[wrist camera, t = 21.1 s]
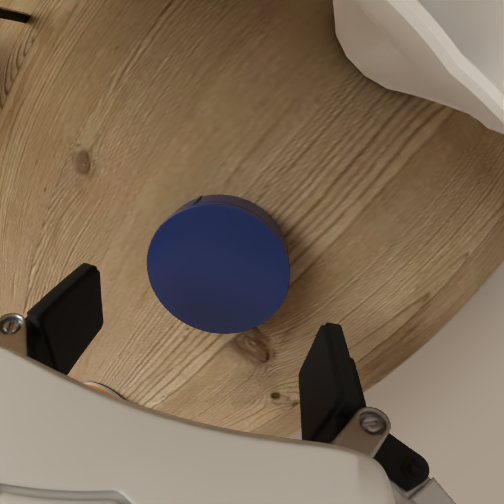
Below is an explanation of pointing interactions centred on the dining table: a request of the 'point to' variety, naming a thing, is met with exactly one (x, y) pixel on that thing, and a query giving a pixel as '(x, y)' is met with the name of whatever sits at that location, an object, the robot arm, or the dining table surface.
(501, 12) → the cup
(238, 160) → the dining table surface
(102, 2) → the dining table surface
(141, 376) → the dining table surface
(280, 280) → the jar lid
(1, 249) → the dining table surface
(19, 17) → the planter
